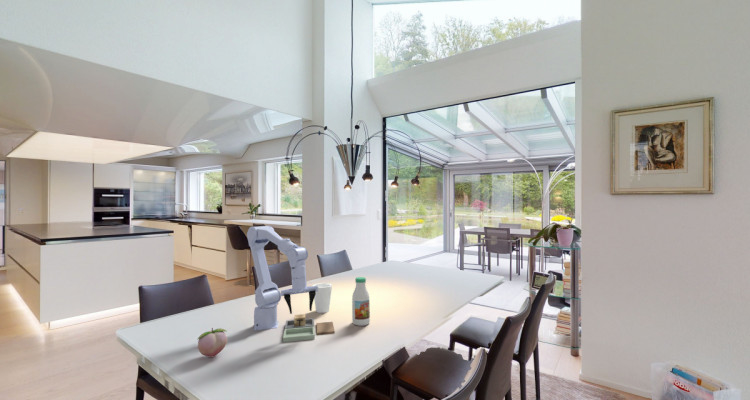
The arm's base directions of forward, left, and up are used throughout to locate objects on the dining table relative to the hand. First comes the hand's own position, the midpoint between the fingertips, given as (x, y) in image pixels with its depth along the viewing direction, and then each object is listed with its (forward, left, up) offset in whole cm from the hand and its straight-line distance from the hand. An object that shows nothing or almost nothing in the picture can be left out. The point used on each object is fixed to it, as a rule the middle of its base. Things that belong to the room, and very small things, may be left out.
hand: (300, 311), depth 128 cm
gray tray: (-1, +10, -10) cm, 14 cm away
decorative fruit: (-30, -10, -10) cm, 33 cm away
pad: (+10, +5, -10) cm, 15 cm away
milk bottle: (+26, +9, -10) cm, 29 cm away
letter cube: (-1, +10, -9) cm, 13 cm away
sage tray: (-1, 0, -10) cm, 10 cm away
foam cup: (+10, +29, -10) cm, 32 cm away
